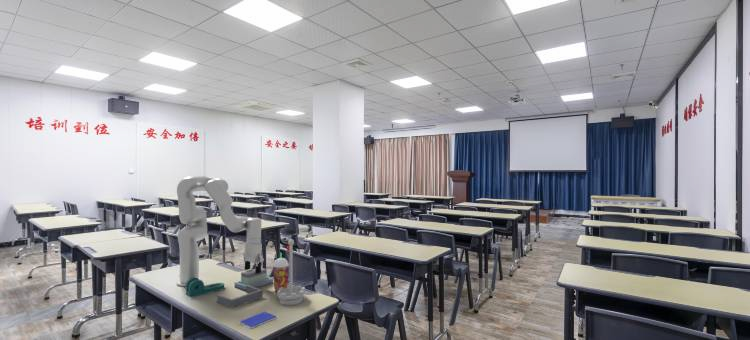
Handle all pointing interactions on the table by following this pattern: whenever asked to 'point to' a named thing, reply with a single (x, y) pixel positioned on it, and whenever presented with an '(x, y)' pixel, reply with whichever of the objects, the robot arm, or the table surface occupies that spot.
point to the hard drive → (257, 319)
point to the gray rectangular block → (253, 276)
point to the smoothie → (280, 273)
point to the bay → (241, 297)
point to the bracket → (201, 287)
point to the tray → (256, 285)
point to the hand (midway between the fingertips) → (252, 271)
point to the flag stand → (291, 285)
